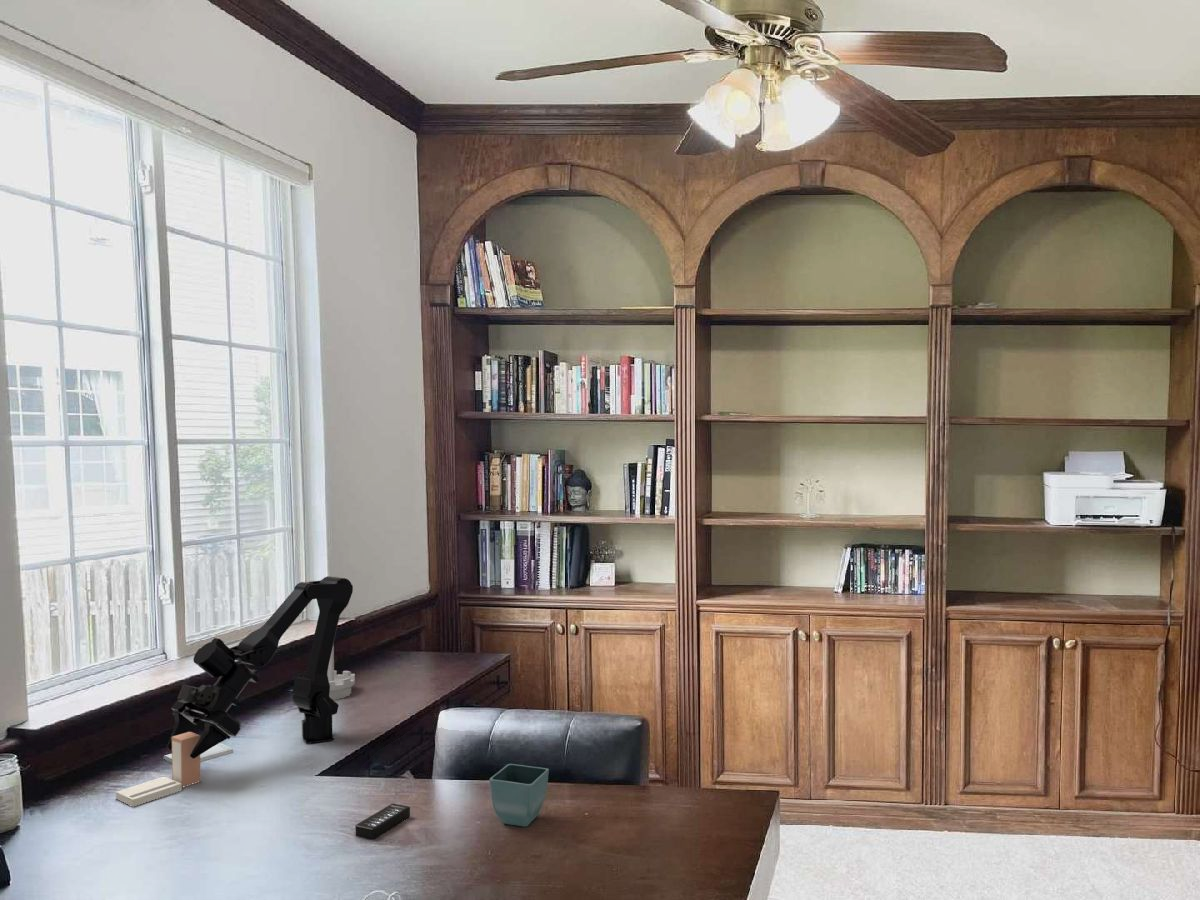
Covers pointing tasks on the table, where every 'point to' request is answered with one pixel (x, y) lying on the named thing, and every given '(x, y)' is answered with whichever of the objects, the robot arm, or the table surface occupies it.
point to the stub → (185, 759)
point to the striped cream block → (148, 791)
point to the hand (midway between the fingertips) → (179, 753)
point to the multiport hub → (382, 821)
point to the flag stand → (339, 681)
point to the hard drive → (209, 752)
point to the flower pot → (518, 793)
